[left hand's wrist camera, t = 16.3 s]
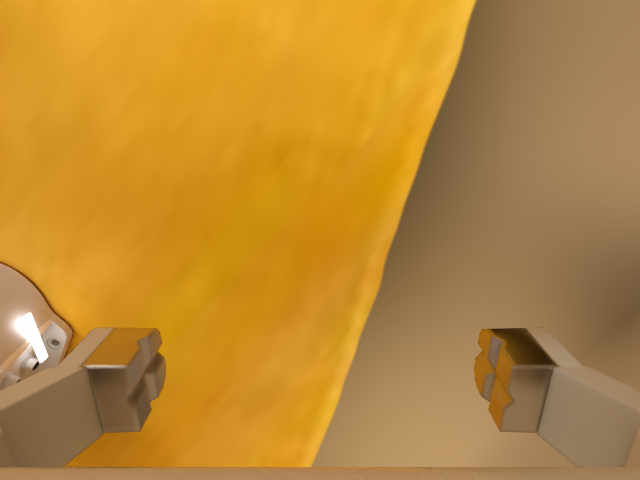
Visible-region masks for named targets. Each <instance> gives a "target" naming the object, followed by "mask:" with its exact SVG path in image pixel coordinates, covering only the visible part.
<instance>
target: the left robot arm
mask: <svg viewBox="0 0 640 480" xmlns="http://www.w3.org/2000/svg"><path fill="white" fill-rule="evenodd" d="M72 335H73V332H72V330H71V328H70V327H69V326H68V324H66V323H65V322H64V321H63V320H62V319H61V318H59V317H58V316H57V315H56V314H54V313H53V311H52V310H51V309H50V307H49V306H48V304H47V302H46V301H45V299H44V297H43V296H42V295H41V293H40V292H39V291H38V289H37V288H36V287H35V286H34V285H33V284H32V283H31V282H30V281H29V280H28V279H26V278H25V277H24V276H23V275H21V274H20V273H18V272H17V271H15V270H14V269H12V268H10V267H8V266H6V265H4V264H2V263H0V480H640V391H639V390H637V389H635V388H633V387H631V386H629V385H627V384H625V383H623V382H620V381H618V380H616V379H614V378H612V377H610V376H608V375H606V374H603V373H601V372H599V371H597V370H595V369H593V368H591V367H583V366H582V365H581V364H580V363H579V362H578V361H577V360H576V359H575V358H574V357H573V356H572V355H571V354H570V353H569V352H568V350H567V349H566V348H565V347H564V346H563V345H562V344H561V343H560V342H559V341H558V340H557V339H556V338H555V337H554V336H553V335H552V334H551V333H550V332H549V331H548V329H545V328H543V327H534V328H507V329H482V330H481V332H480V335H479V340H478V344H479V346H480V347H481V349H482V352H481V353H480V354H479V355H478V356H477V357H476V358H475V366H474V374H475V382H476V385H477V389H478V391H479V393H480V395H481V396H482V397H483V398H485V399H486V400H488V401H489V402H490V404H489V412H490V414H491V416H492V417H493V419H494V421H495V423H496V425H497V427H498V429H499V431H500V432H529V433H537V435H539V436H540V437H541V438H542V439H543V440H545V441H546V442H547V443H548V444H550V445H551V446H552V447H553V448H554V449H556V450H557V451H558V452H559V453H561V454H562V455H563V456H564V457H566V458H567V459H568V460H569V461H570V462H572V463H573V464H574V465H575V466H577V467H64V466H65V465H66V464H67V463H68V462H70V461H71V460H72V459H73V458H75V457H76V456H77V455H78V454H80V453H81V452H82V451H83V450H84V449H86V448H87V447H88V446H89V445H91V444H92V443H93V442H94V441H96V440H97V439H98V438H99V437H101V436H102V435H103V433H111V432H140V431H141V429H142V427H143V425H144V423H145V421H146V419H147V418H148V416H149V414H150V412H151V404H150V402H151V401H152V400H154V399H155V398H157V397H158V396H159V395H160V393H161V391H162V388H163V385H164V381H165V376H166V365H165V358H164V357H163V356H162V355H161V354H160V353H159V352H158V349H159V347H160V346H161V344H162V340H161V335H160V332H159V331H158V330H157V329H156V328H115V327H105V328H95V329H93V330H92V331H91V332H90V333H89V334H88V335H87V336H86V337H85V338H84V339H83V340H82V341H81V342H80V343H79V344H78V345H77V346H76V347H75V348H74V349H73V351H72V352H71V353H70V354H69V355H68V356H67V357H66V358H65V359H64V357H65V354H66V351H67V349H68V346H69V344H70V341H71V338H72ZM56 340H57V341H58V342H57V341H56ZM63 359H64V360H63Z"/></svg>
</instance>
